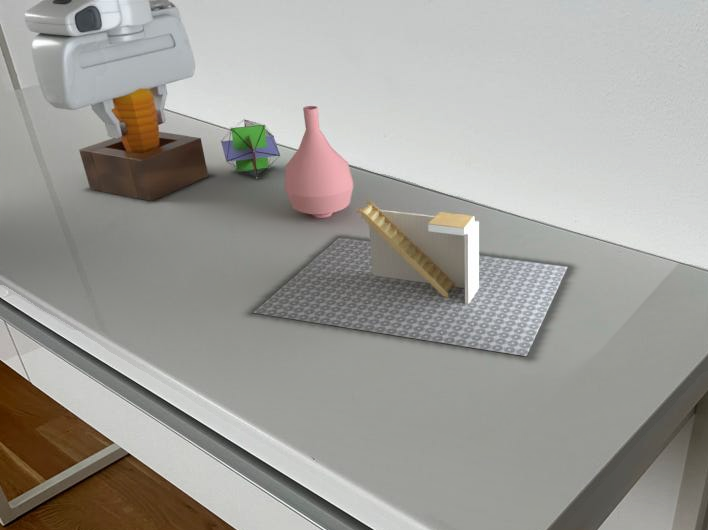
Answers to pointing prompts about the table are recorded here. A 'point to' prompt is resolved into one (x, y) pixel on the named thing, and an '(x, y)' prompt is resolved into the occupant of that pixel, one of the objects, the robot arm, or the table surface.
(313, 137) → the pink vase
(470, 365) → the table surface
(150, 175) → the hole block
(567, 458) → the table surface
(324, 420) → the table surface
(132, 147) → the carrot
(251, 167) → the geometric puzzle
